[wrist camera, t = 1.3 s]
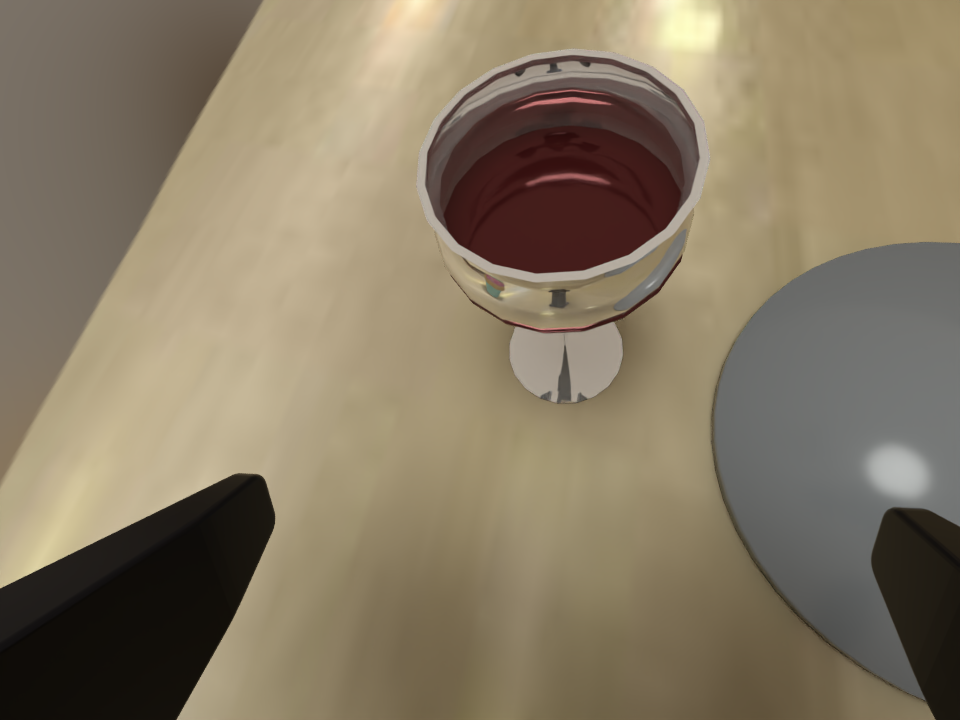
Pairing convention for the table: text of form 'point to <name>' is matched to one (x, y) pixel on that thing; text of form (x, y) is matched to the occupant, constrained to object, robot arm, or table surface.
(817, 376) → the slate plate
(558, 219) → the wineglass
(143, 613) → the robot arm
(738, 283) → the table surface
